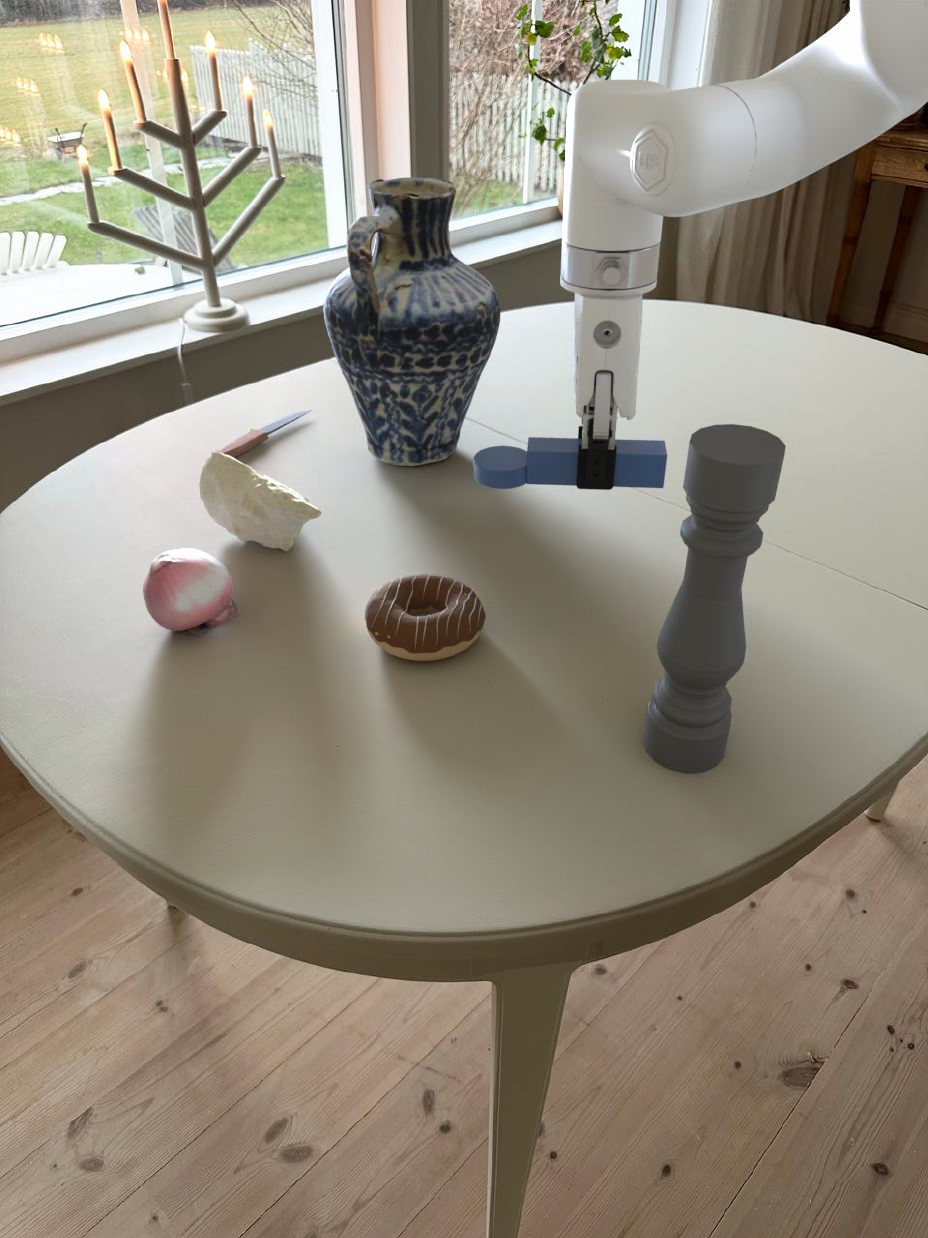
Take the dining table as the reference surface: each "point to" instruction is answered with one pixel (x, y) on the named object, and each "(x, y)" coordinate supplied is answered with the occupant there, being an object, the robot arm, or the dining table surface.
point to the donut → (424, 617)
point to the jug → (410, 323)
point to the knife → (257, 436)
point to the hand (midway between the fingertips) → (594, 476)
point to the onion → (189, 592)
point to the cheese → (252, 503)
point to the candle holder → (711, 594)
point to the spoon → (567, 463)
